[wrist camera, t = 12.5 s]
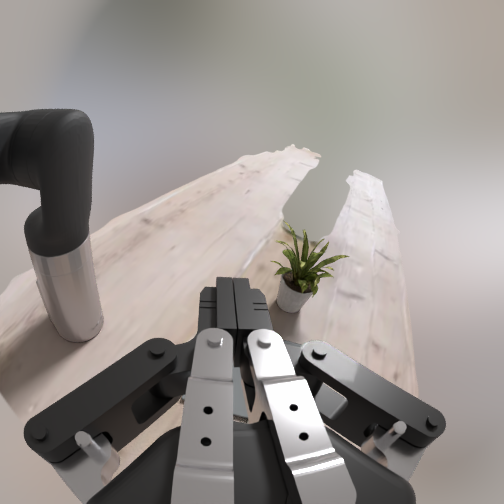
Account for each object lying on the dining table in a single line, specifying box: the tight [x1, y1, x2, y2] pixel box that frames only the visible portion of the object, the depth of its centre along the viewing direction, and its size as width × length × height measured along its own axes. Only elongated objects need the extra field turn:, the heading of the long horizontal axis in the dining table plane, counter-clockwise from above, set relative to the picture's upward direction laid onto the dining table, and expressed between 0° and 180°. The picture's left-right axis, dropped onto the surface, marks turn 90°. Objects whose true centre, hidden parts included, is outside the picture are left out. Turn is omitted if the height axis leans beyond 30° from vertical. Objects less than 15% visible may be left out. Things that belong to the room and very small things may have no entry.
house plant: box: [271, 222, 349, 313], centre depth 51 cm, size 14×14×16 cm
